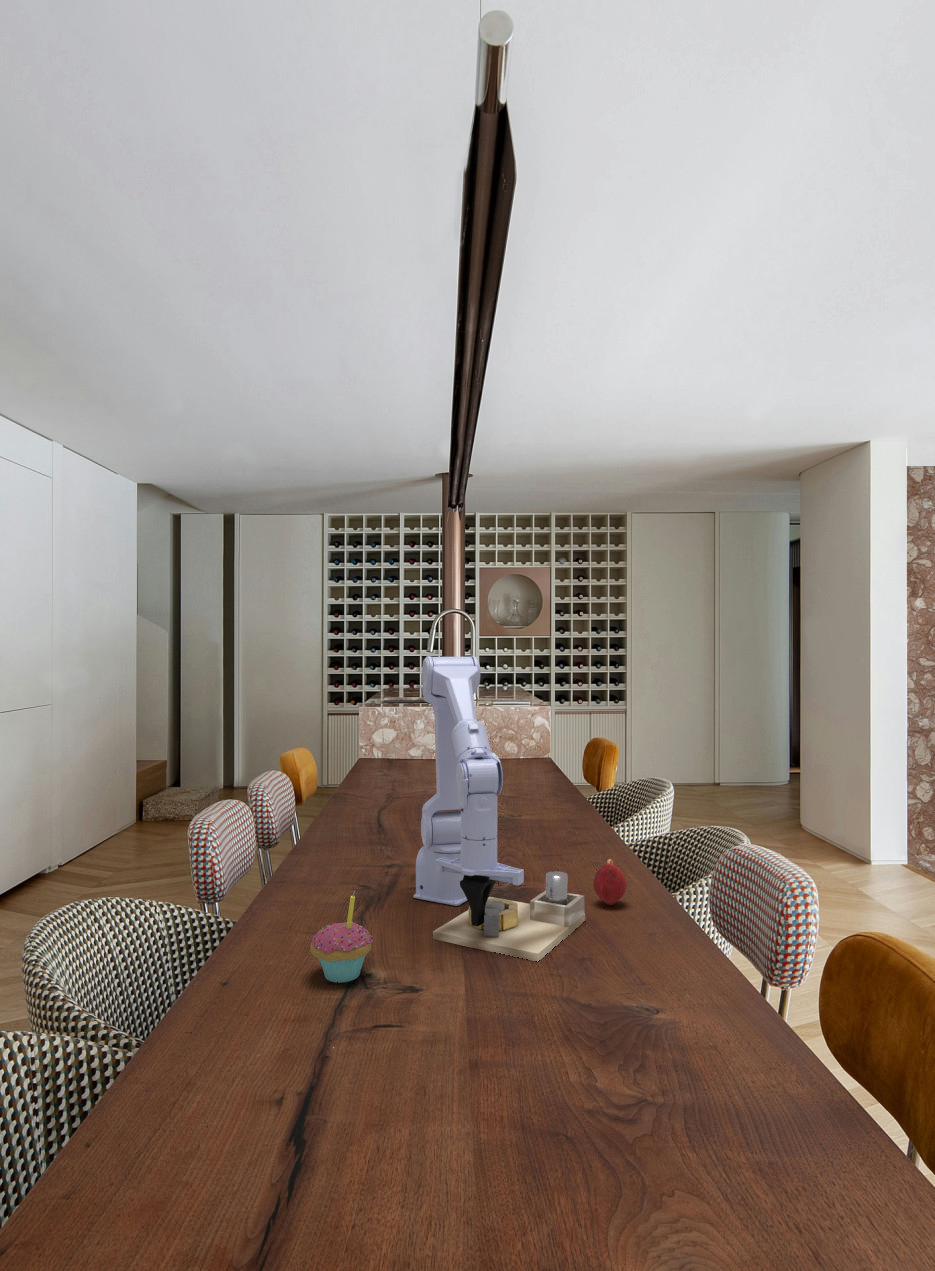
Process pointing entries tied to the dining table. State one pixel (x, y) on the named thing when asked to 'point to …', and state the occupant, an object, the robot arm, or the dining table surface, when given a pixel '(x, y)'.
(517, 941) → the board
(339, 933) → the cupcake
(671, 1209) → the dining table surface
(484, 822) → the robot arm
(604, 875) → the onion
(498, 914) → the ring nut
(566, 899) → the pin
